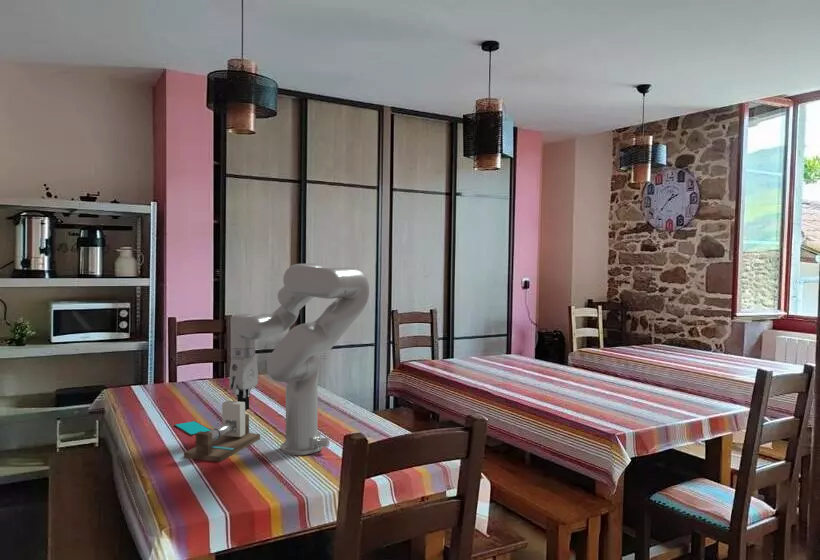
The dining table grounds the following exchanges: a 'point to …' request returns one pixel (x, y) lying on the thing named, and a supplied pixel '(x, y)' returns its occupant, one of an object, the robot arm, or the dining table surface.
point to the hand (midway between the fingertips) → (243, 409)
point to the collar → (234, 416)
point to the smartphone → (192, 427)
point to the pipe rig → (221, 442)
